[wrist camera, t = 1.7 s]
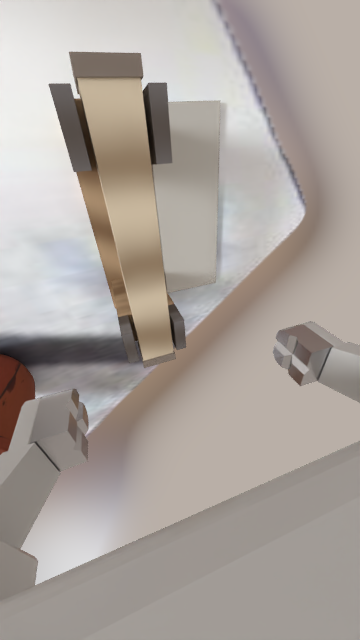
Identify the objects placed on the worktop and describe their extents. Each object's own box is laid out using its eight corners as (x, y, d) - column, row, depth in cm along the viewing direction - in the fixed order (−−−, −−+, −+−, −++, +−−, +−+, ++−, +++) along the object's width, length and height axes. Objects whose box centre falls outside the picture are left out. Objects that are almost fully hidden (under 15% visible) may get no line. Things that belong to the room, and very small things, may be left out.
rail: (73, 74, 13) (69, 51, 10) (131, 74, 14) (140, 53, 11) (138, 347, 26) (144, 367, 23) (167, 339, 26) (175, 358, 24)
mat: (144, 104, 22) (145, 102, 22) (217, 101, 24) (220, 100, 23) (166, 291, 34) (167, 293, 34) (214, 281, 36) (215, 282, 36)
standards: (60, 114, 21) (30, 62, 10) (135, 111, 22) (174, 63, 12) (114, 305, 33) (125, 369, 23) (160, 295, 35) (190, 351, 24)
